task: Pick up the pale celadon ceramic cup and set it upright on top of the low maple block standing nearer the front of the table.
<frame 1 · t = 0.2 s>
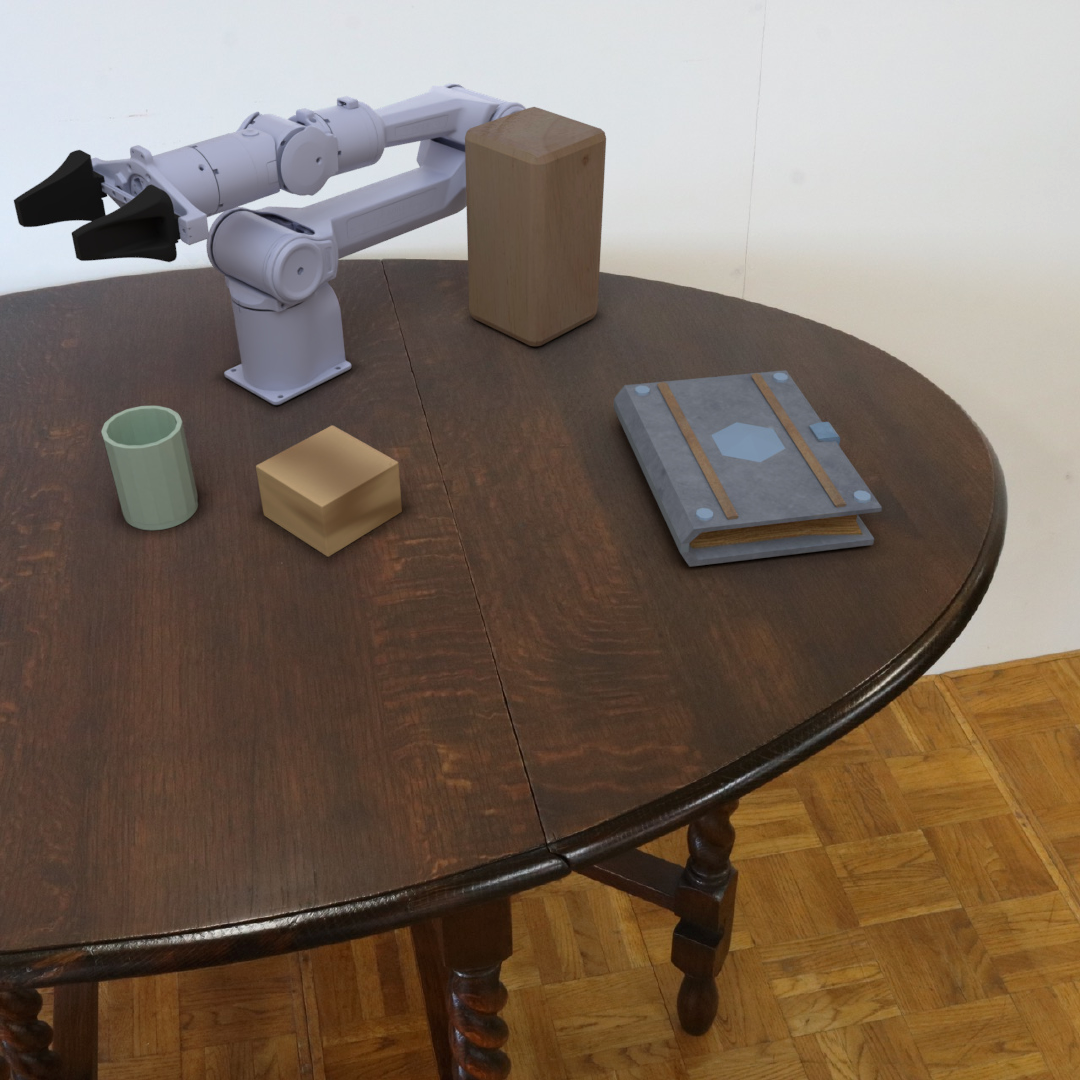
hand: (46, 229, 89), 21 cm above the table, tool horizontal, fingers open, 7 cm apart
book: (735, 484, 101), on the table
cup: (160, 507, 97), on the table
wooden block: (533, 320, 124), on the table
block: (333, 513, 97), on the table
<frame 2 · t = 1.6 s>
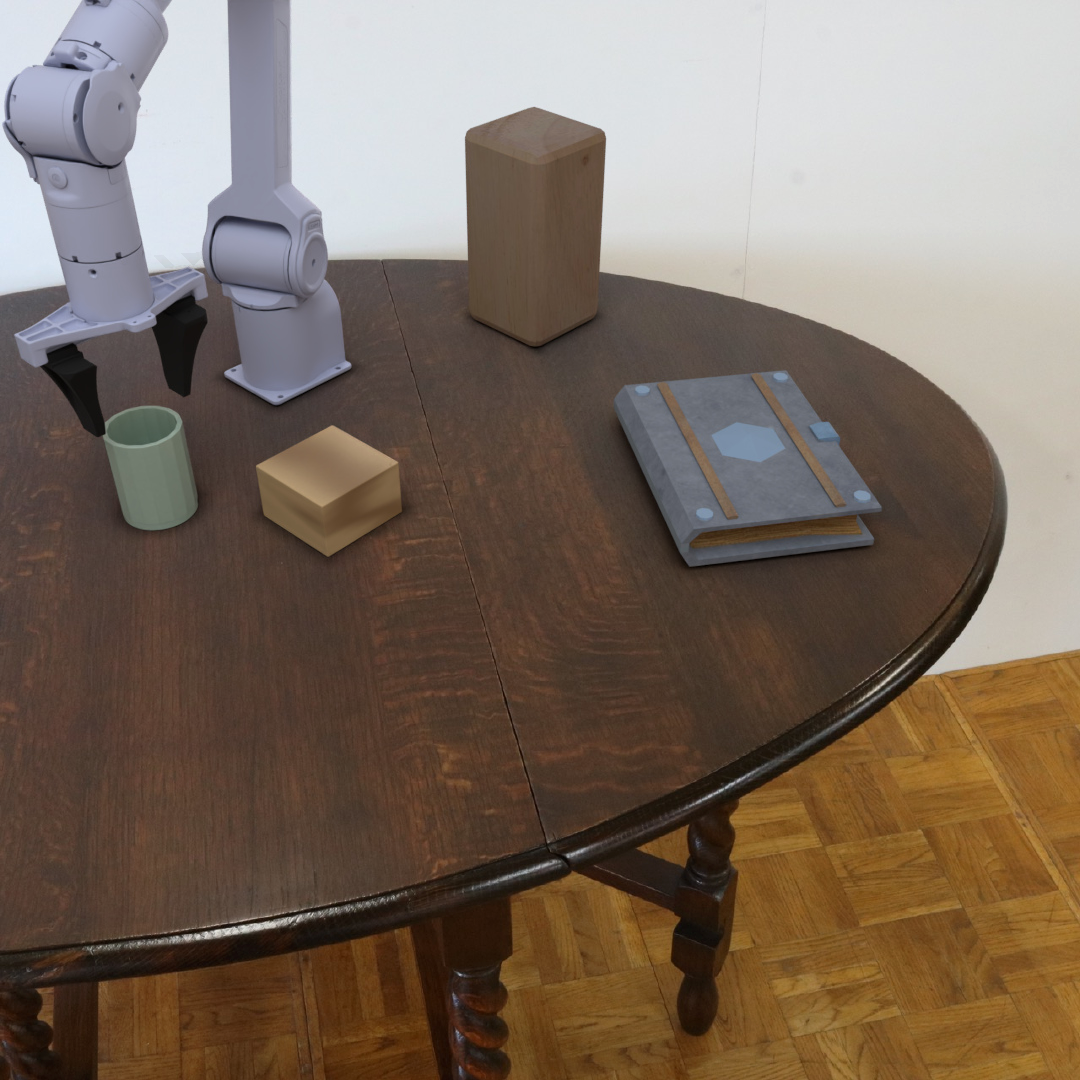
hand: (138, 410, 91), 9 cm above the table, tool pointing down, fingers open, 7 cm apart
nothing on the table moved.
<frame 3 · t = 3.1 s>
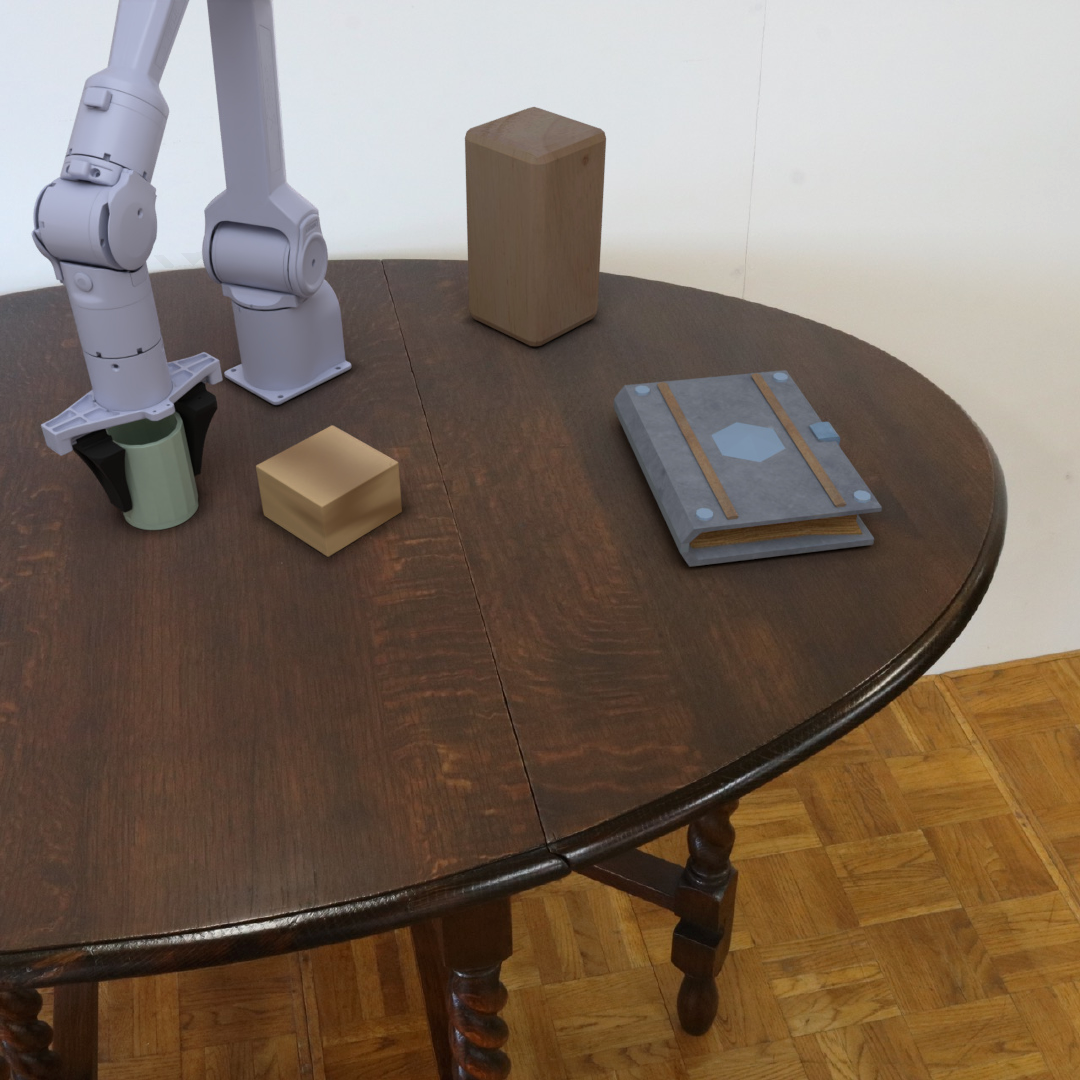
hand: (156, 488, 96), 2 cm above the table, tool pointing down, fingers closed on cup, 6 cm apart
cup: (161, 507, 97), on the table, touching gripper
everything else where it was.
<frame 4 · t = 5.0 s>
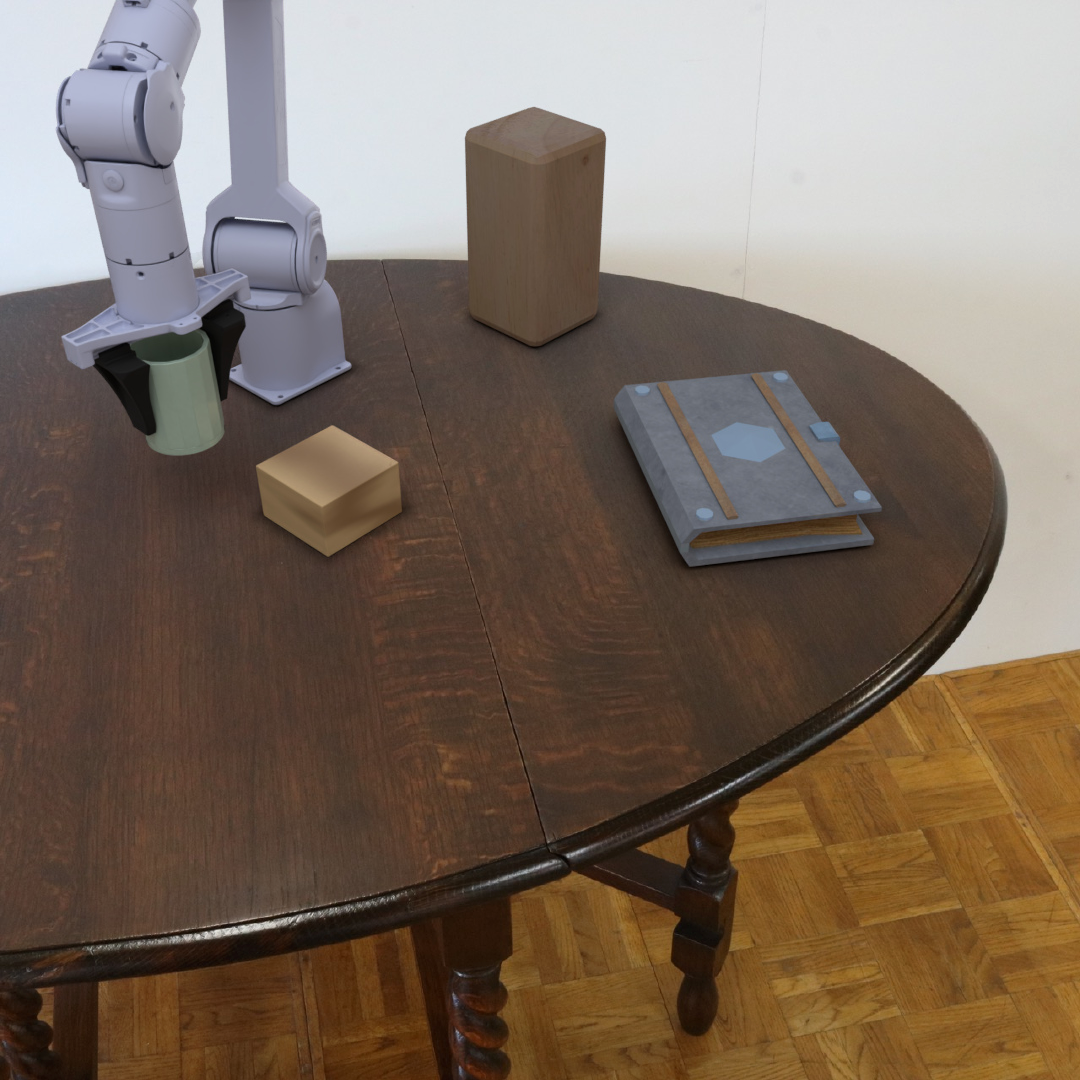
hand: (180, 412, 91), 9 cm above the table, tool pointing down, fingers closed on cup, 6 cm apart
cup: (185, 434, 93), point 7 cm above the table, touching gripper
everything else where it was.
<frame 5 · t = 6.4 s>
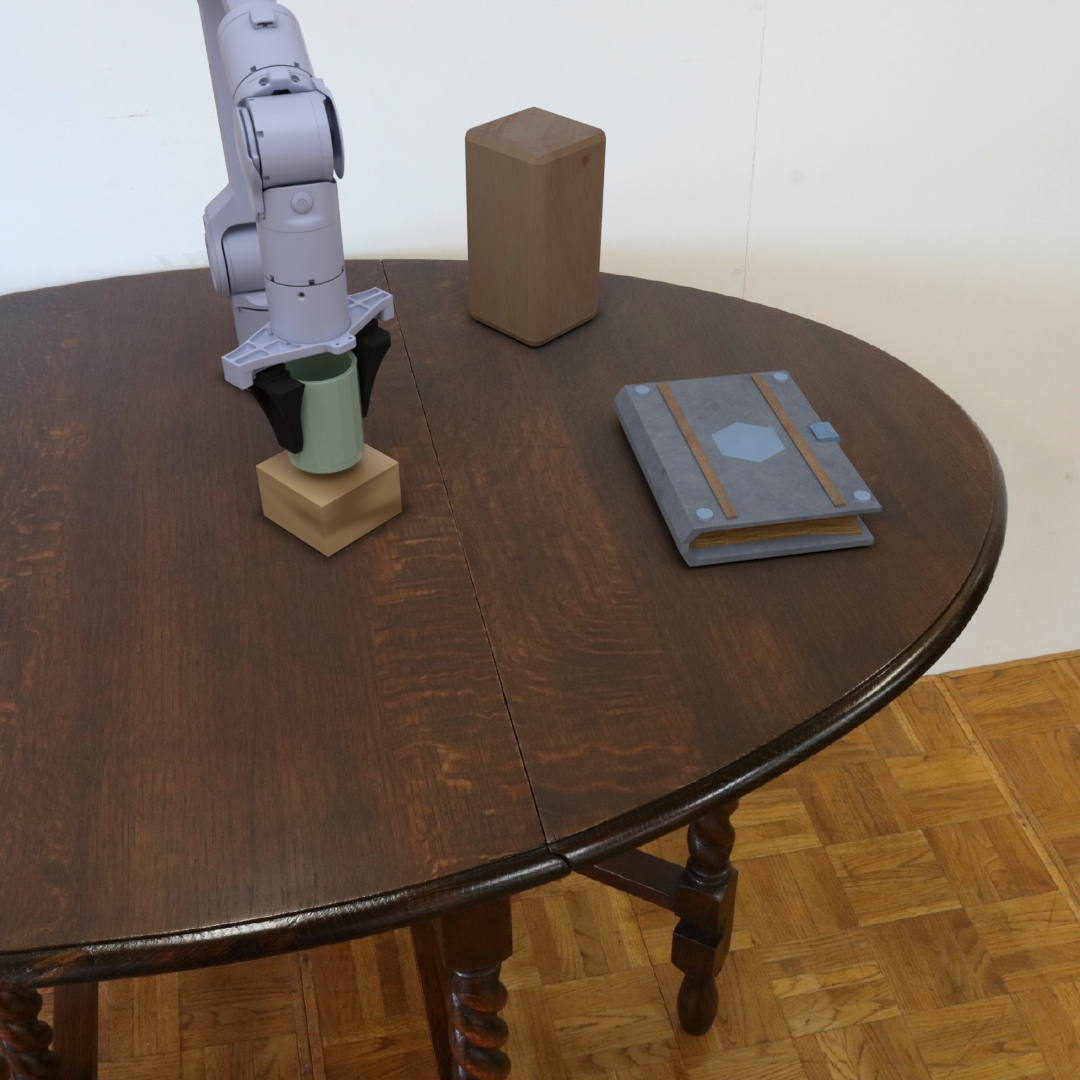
hand: (323, 430, 92), 8 cm above the table, tool pointing down, fingers closed on cup, 6 cm apart
cup: (326, 451, 93), point 6 cm above the table, touching gripper
everything else where it was.
when the fingers open (7 cm above the table, at t = 7.3 s): cup stays where it is, point 5 cm above the table.
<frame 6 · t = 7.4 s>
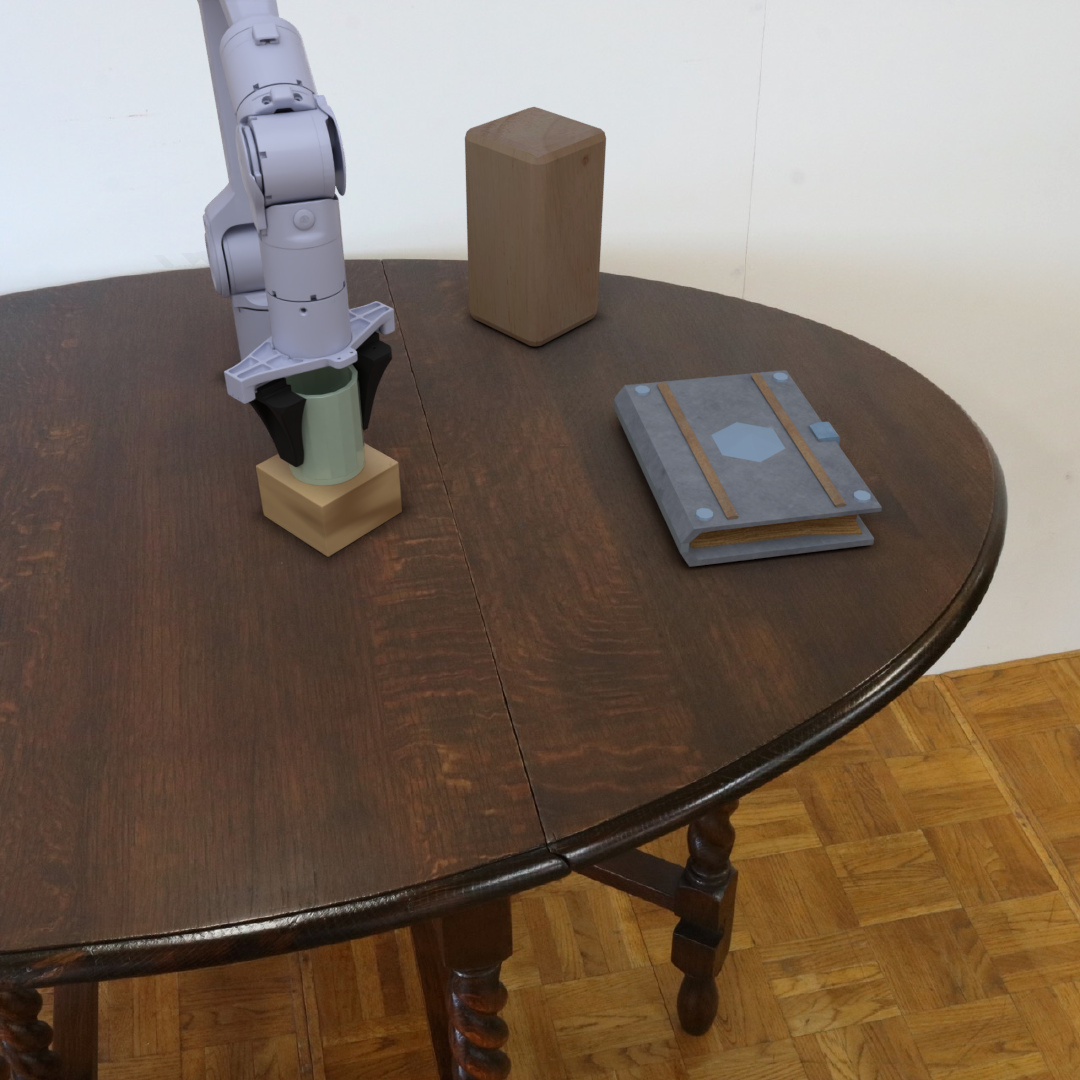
hand: (324, 442, 93), 7 cm above the table, tool pointing down, fingers open, 6 cm apart
cup: (327, 463, 94), point 5 cm above the table
everything else where it was.
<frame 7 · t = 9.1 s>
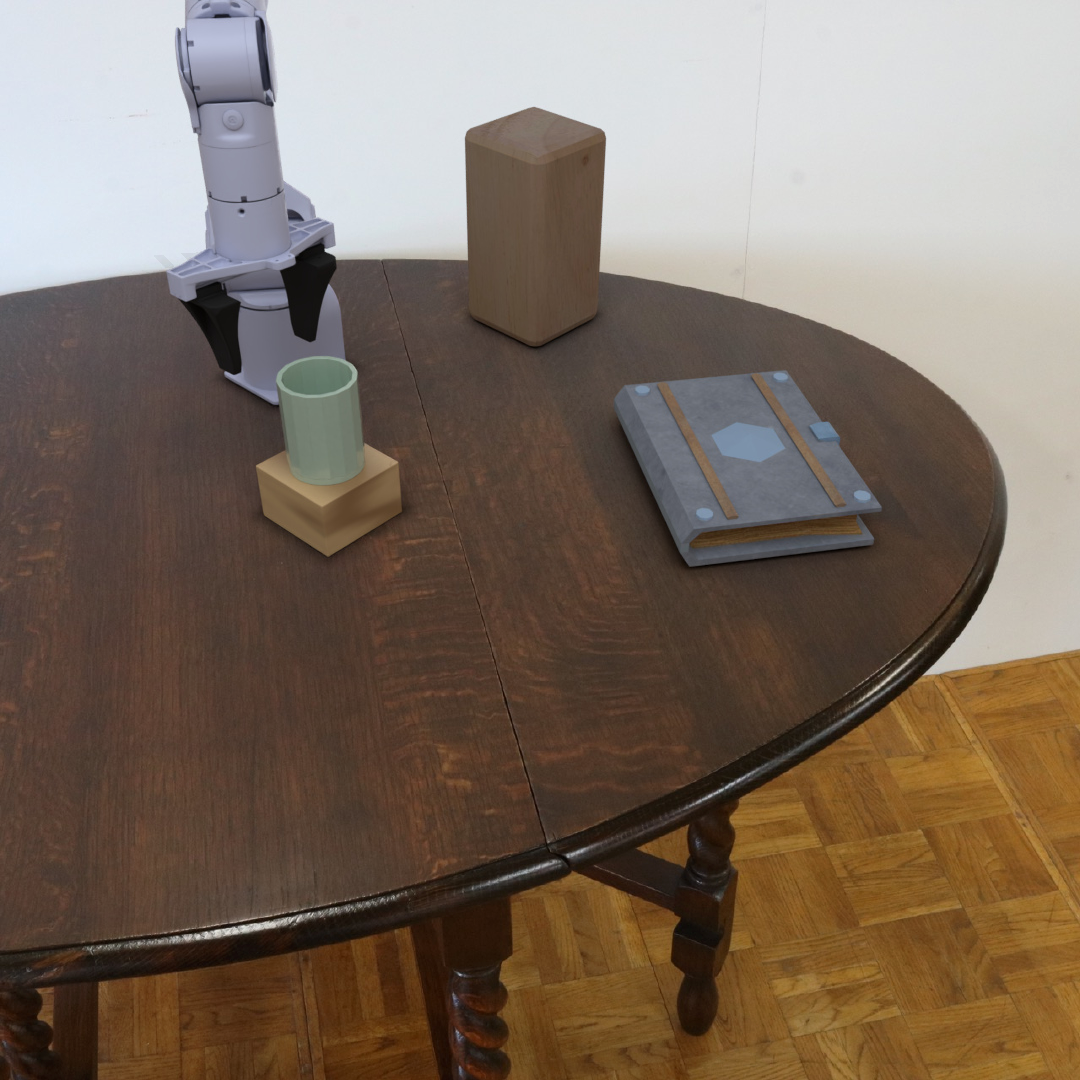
hand: (268, 353, 97), 10 cm above the table, tool pointing down, fingers open, 7 cm apart
cup: (327, 463, 94), point 5 cm above the table, touching block
block: (333, 513, 97), on the table, touching cup
everything else where it was.
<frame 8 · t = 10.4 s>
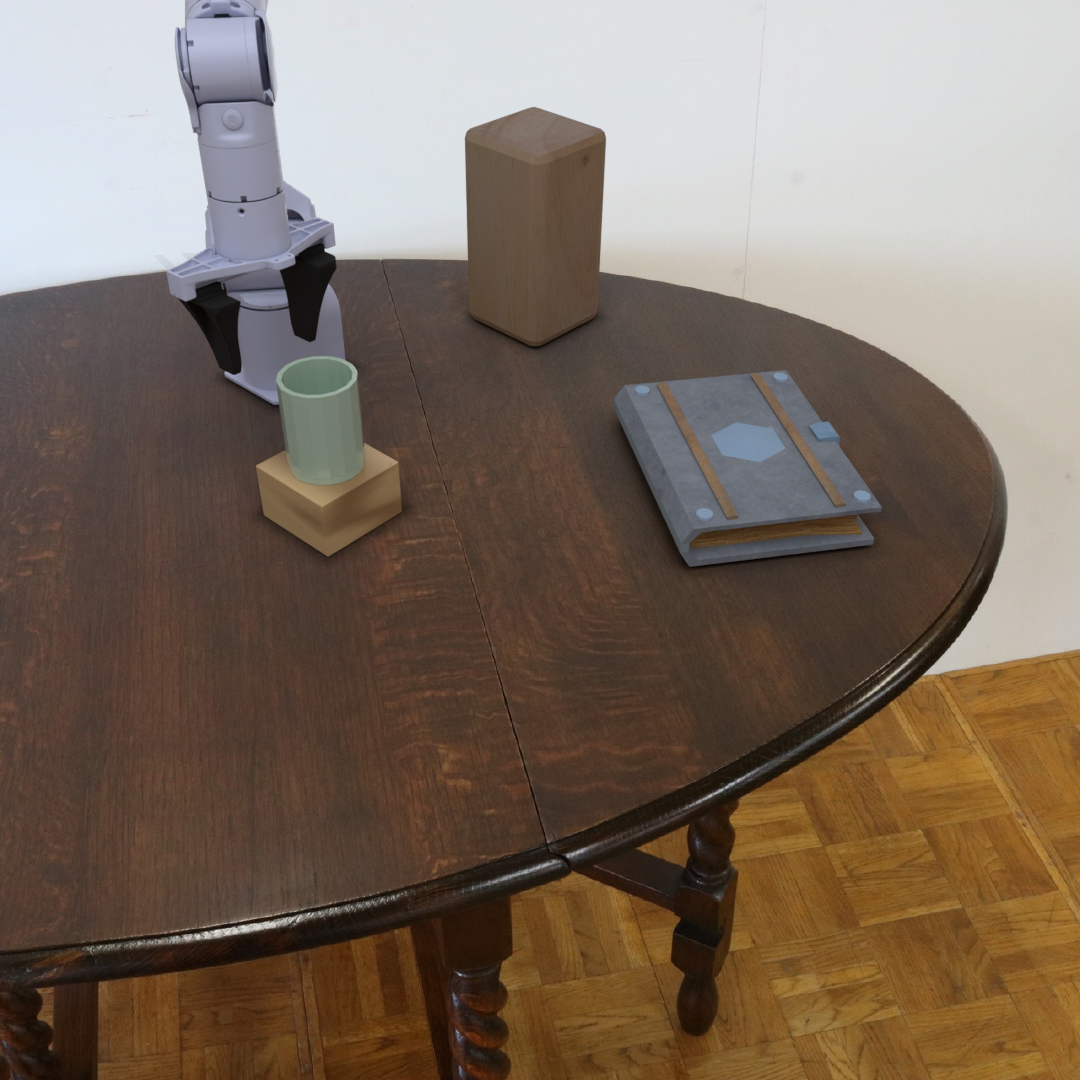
hand: (268, 353, 97), 10 cm above the table, tool pointing down, fingers open, 7 cm apart
nothing on the table moved.
at the end: cup 0.0 cm off-centre on the block, point 5.0 cm above the block's base; cup tilted 0°; wooden block moved 0.2 cm from its start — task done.
